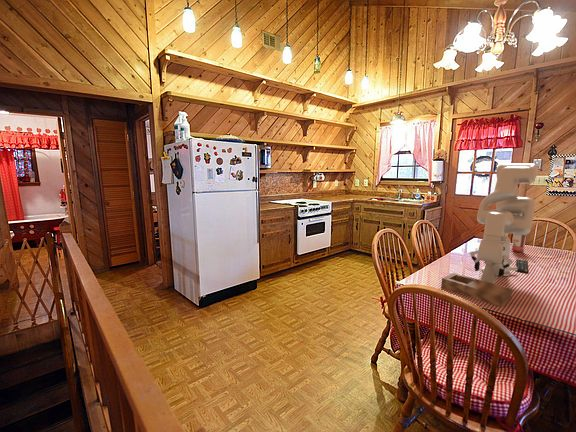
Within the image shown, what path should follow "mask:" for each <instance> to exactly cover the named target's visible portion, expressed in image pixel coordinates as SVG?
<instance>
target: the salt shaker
mask: <svg viewBox="0 0 576 432" xmlns="http://www.w3.org/2000/svg"><path fill="white" fill-rule="evenodd" d="M484 264H485V265H484V266H485V268H484V271H482V274H481V276H480V279H479V280H481V281H485V282H489V283H492V284H495V283H496V275H494V265H495V263H491V262H486V261H484Z"/></svg>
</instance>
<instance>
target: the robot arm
mask: <svg viewBox="0 0 576 432" xmlns="http://www.w3.org/2000/svg"><path fill="white" fill-rule="evenodd" d="M538 173H539V166H538V165H537V163H532V162H531V163H530V162H529V163H528V162H527V163H513V162H512V163H503V164H499V165H498V166H497V168H496V174H495V175H496V182H495V187H494V189H493V190H494V191H492V192H491V193H489V194H488V195H487V196H485V197H484V198H483V199H482V200H481V201H480V204H479V207H478V211H477V214H476V220H477V222H478V223H479V224H481V225H484V230H483V238H482V239H481V241H480V242H479V246H478V248H477V249H478V250H475V251H470V252H469V255H470V257H471V259H472V261H473V262H474V271H475V272H478V271H480V267H481V266H480V265H481V262H480V261H483V262H485V261H486V262H491V263H495V265H494V275H495V276H497V277H499V278H501V277H508V276H510V275H511V271H515V272H517V270H518V268H517V267H516V266H512V265H513V263H514V261H513V260H512V259H511V258H510V253H511V252H510V251H511V245H512V242H511V239H510V237H509V236H508V235H507V234H511V235H514V234H517V235H526V236H528V235H529V234H530V233H531V231H532V226H533V221H534V214H535V208H536V205H535V203H536V202H535V201H534V199H533V198H532V197H526V196H519V193H520V188H519V186H518V184H519V185H520V184H521V185H522V184H524V185H530V184H532V183H534V181H535V180H536V178H537V177H538ZM495 203H496V206H495V208H496V209H489V208H488V207H489V206H491V205H493V204H495ZM475 255H477V256H475ZM485 266H486V265H484V266H482V267H481V271H482V272H483V271H484V268H485Z"/></svg>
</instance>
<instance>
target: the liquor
mask: <svg viewBox="0 0 576 432" xmlns="http://www.w3.org/2000/svg"><path fill="white" fill-rule="evenodd" d="M526 239H527V235H517V234H513V239H512V247H511V251H513V252H514V253H518V254H521V253H523V252H525V244H526Z"/></svg>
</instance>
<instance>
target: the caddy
mask: <svg viewBox="0 0 576 432" xmlns="http://www.w3.org/2000/svg"><path fill="white" fill-rule="evenodd" d="M440 285H441V286H440V288H442V287H443V288H442V289H445V290H449V291H452V292H454V291H455V293H457V292H459V293H458V294H460V293H462V294H461V295H463V294H465V295H464V296H466V295H467V296H466V297H469V296H470V297H471V298H472V297H473V299H475V300H479V301H481V302H485V303H487V304H491V305H494V306H497V307H500V308H501V307H503V306H504V305H506V304H507V303H508V302H509V301H511V299H512V297H513V290H514V289H513V288H509V287H506V286H502V285H499V284H495V283H494V284H492V283H489V282H485V281H481V280H480V279H478V278H473V277H470V276H467V275H464V274H459V273H456V272H453V273H451V274H448V275H446V276H444V277H441V284H440Z"/></svg>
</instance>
